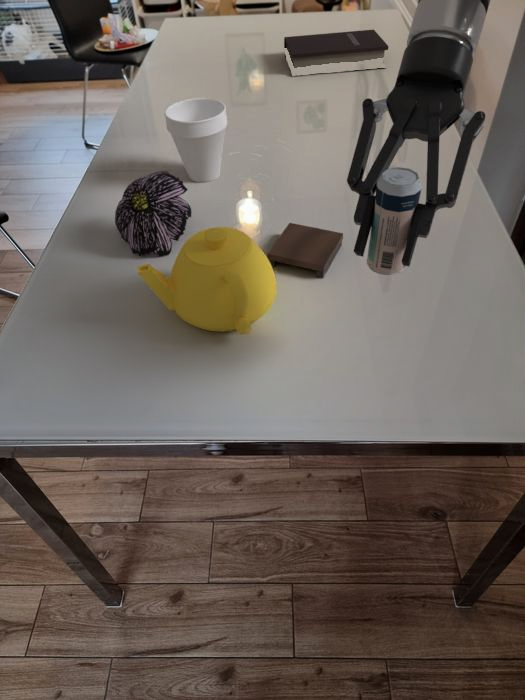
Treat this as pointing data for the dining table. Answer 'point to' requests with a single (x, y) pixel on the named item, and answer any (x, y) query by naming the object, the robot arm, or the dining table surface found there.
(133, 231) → the decorative flower
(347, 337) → the dining table surface
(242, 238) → the teapot
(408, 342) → the dining table surface
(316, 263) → the flat wooden board
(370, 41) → the book
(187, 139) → the cup
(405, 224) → the beer can
